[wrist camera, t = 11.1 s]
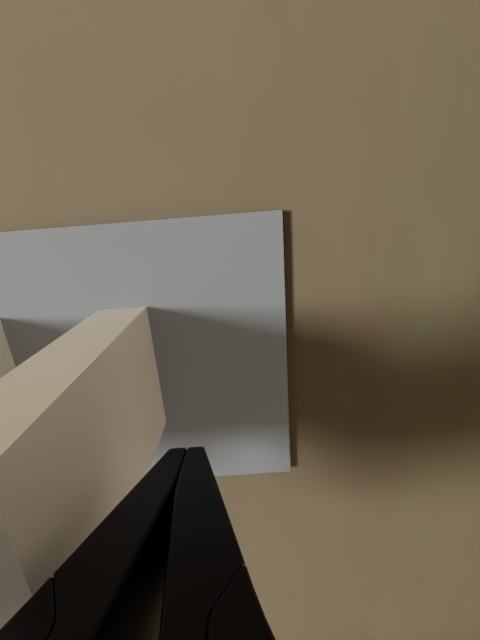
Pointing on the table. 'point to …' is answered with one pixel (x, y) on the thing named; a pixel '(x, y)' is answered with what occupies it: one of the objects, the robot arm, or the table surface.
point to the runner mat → (173, 319)
